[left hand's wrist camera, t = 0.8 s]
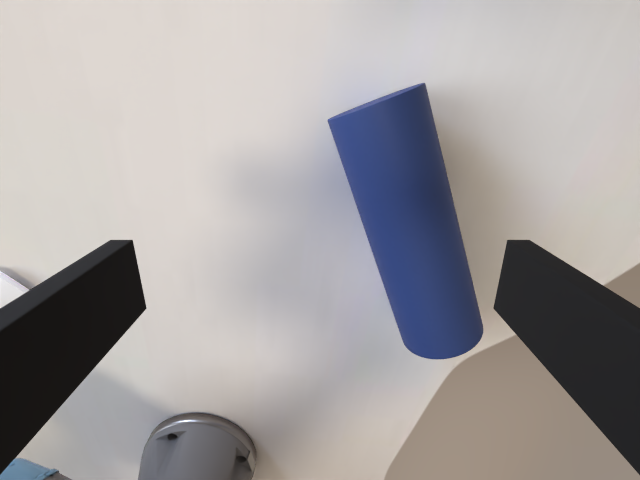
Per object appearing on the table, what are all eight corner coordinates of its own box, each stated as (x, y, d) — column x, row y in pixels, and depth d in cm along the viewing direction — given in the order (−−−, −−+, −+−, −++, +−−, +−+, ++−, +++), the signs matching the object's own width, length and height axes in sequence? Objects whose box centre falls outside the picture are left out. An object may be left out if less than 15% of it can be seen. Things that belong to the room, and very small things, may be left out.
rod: (464, 299, 40) (498, 344, 32) (395, 320, 41) (412, 369, 33) (410, 85, 32) (439, 78, 24) (326, 118, 33) (328, 121, 25)
